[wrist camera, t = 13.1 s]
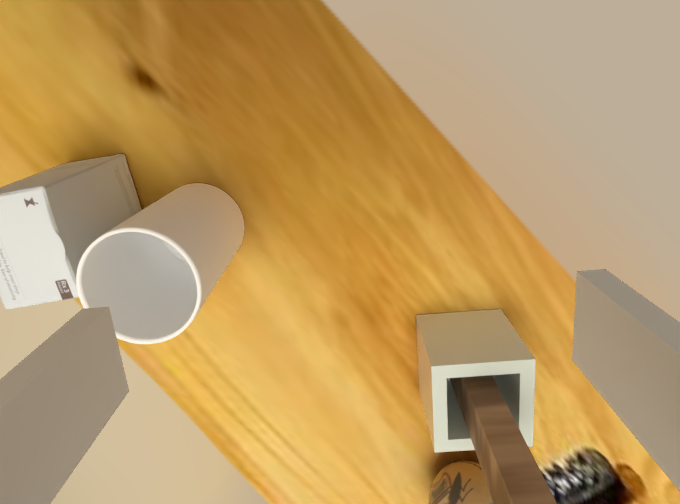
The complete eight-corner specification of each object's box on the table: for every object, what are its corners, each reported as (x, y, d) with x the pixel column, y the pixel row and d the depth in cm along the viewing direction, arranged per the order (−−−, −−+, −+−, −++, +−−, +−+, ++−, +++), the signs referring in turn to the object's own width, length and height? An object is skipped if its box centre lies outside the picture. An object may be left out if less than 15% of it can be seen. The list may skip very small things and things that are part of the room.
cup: (252, 195, 49) (210, 246, 34) (235, 275, 51) (189, 356, 36) (164, 173, 48) (82, 214, 33) (151, 255, 51) (69, 329, 36)
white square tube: (415, 315, 53) (431, 366, 43) (500, 308, 52) (535, 359, 43) (418, 388, 55) (434, 452, 46) (500, 383, 55) (532, 446, 45)
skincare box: (66, 162, 48) (-50, 195, 34) (129, 151, 48) (39, 180, 34) (94, 249, 51) (-3, 313, 37) (154, 239, 50) (80, 300, 36)
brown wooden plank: (446, 336, 52) (525, 533, 30) (471, 335, 52) (570, 530, 29) (447, 372, 54) (523, 587, 31) (472, 370, 54) (567, 585, 31)
